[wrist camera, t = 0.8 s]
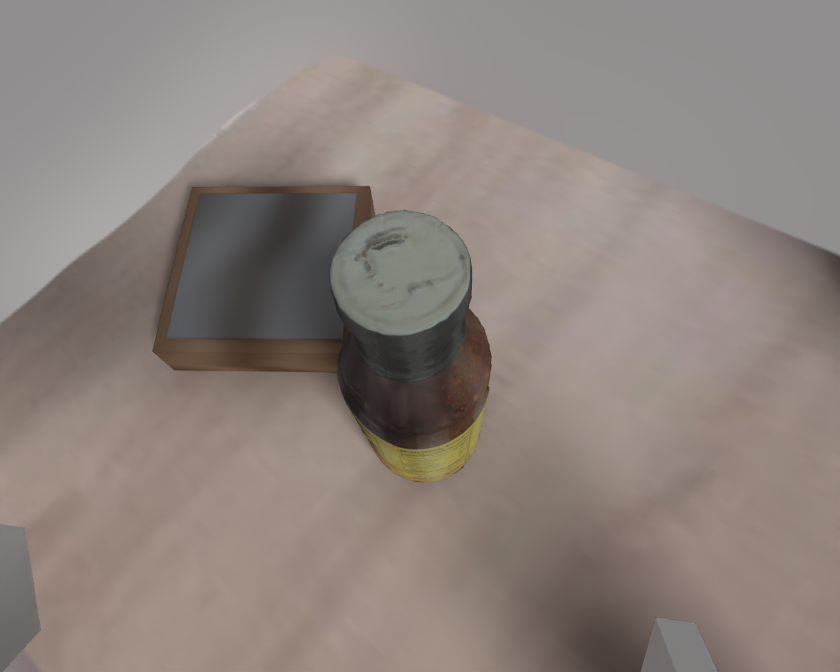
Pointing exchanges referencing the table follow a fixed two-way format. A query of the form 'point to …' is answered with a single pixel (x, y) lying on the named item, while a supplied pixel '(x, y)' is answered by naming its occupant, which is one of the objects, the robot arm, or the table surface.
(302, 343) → the pedestal
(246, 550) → the table surface
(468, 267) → the sauce bottle
